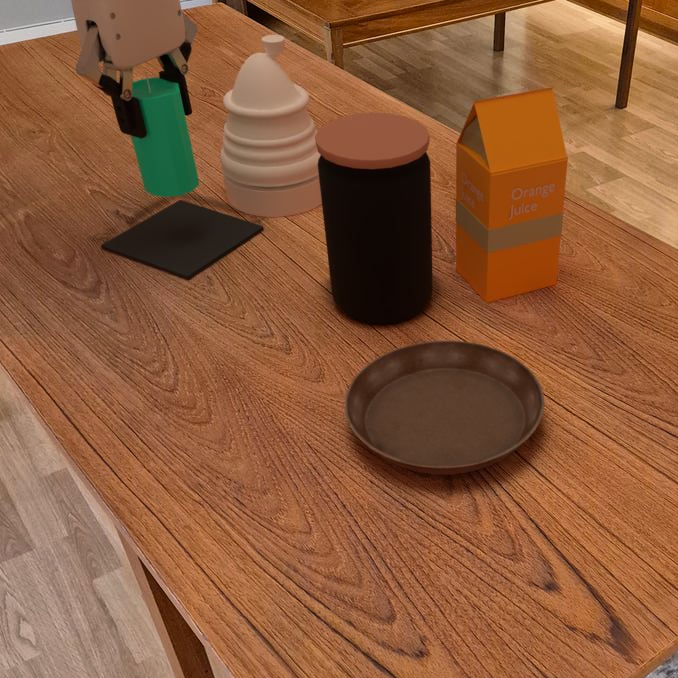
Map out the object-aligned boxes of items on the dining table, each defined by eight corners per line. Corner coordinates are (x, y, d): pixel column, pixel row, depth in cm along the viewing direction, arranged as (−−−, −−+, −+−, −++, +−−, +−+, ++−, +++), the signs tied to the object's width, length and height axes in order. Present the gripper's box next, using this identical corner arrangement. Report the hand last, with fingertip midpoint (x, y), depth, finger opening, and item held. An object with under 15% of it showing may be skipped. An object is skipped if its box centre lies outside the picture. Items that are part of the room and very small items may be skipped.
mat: (101, 249, 102) (100, 245, 101) (181, 203, 110) (180, 199, 109) (188, 280, 97) (187, 276, 97) (264, 230, 105) (263, 226, 105)
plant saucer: (343, 495, 74) (339, 468, 72) (350, 367, 87) (347, 341, 84) (553, 488, 75) (556, 461, 73) (530, 362, 88) (532, 337, 86)
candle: (173, 201, 96) (146, 88, 88) (132, 188, 98) (102, 76, 90) (211, 180, 100) (188, 69, 91) (170, 167, 102) (145, 58, 93)
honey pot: (304, 161, 119) (286, 16, 106) (347, 201, 111) (333, 49, 99) (212, 183, 114) (181, 33, 101) (250, 226, 106) (222, 69, 93)
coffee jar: (413, 266, 100) (407, 105, 88) (447, 317, 93) (446, 149, 81) (321, 285, 97) (301, 120, 84) (349, 338, 90) (332, 167, 77)
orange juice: (557, 285, 98) (574, 101, 84) (486, 303, 95) (492, 116, 81) (522, 252, 103) (533, 73, 89) (454, 269, 100) (454, 86, 86)
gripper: (148, -96, 88) (187, 90, 101) (5, -58, 77) (68, 145, 90) (206, -86, 86) (238, 103, 98) (67, -45, 75) (123, 162, 87)
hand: (157, 121), depth 94 cm, fingers closed on candle, 6 cm apart
